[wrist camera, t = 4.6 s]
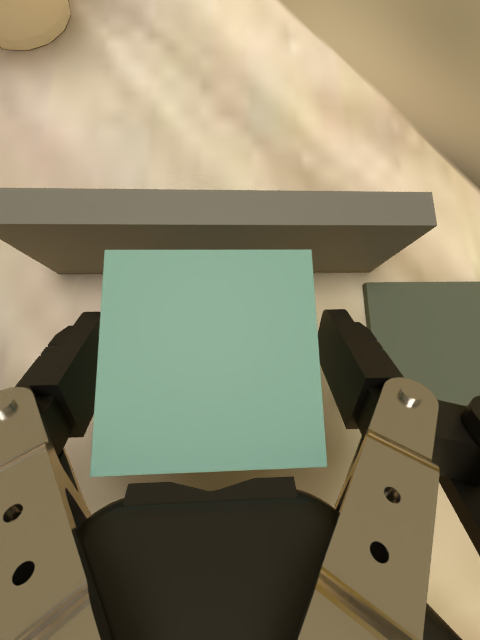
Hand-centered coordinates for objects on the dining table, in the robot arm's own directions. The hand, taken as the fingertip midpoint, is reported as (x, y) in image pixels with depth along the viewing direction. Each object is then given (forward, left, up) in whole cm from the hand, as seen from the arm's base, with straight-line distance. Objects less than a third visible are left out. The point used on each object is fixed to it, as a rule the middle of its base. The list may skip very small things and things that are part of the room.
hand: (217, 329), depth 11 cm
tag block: (+1, -1, -5) cm, 5 cm away
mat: (+7, +11, -5) cm, 14 cm away
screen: (-6, +3, -5) cm, 8 cm away
